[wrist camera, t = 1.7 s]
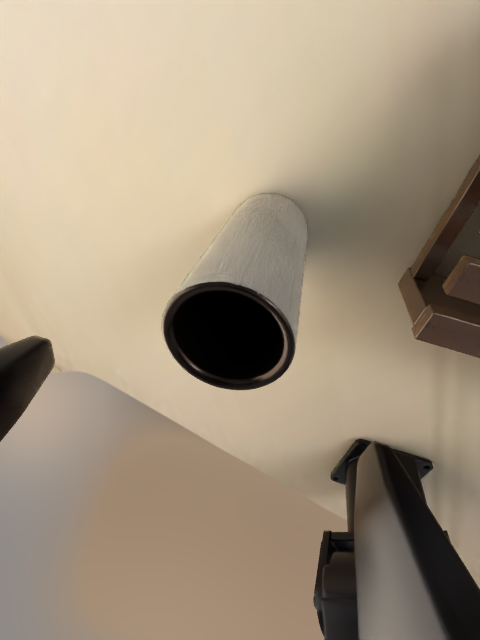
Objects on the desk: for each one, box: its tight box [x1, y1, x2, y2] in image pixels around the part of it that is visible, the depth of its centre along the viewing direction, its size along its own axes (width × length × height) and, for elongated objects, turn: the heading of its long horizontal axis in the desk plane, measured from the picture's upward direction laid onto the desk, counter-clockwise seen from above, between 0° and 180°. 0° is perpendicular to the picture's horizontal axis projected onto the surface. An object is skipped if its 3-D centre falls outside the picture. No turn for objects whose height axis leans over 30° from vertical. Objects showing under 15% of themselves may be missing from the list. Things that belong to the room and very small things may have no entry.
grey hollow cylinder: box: [162, 193, 308, 390], centre depth 15 cm, size 4×4×10 cm
